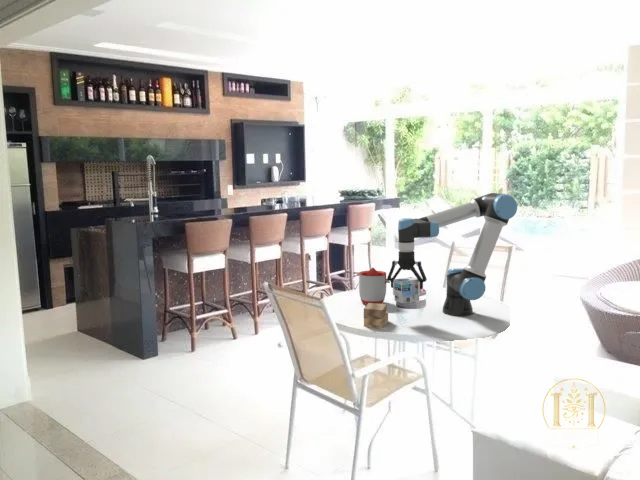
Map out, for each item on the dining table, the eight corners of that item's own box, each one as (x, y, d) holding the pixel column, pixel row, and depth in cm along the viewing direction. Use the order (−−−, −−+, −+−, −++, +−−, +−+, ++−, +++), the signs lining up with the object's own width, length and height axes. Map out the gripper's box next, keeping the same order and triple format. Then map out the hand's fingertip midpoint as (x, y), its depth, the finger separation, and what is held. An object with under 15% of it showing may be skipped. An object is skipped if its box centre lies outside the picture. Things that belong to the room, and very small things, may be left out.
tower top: (386, 313, 287) (386, 304, 286) (382, 319, 276) (382, 310, 275) (368, 311, 289) (368, 302, 289) (363, 318, 278) (363, 308, 277)
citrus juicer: (389, 307, 315) (389, 270, 313) (357, 305, 318) (357, 269, 316) (390, 300, 331) (390, 265, 328) (359, 299, 333) (359, 264, 331)
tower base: (388, 322, 287) (388, 313, 287) (382, 328, 276) (382, 319, 276) (370, 320, 291) (370, 311, 290) (363, 326, 279) (363, 317, 279)
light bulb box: (402, 303, 279) (401, 281, 278) (393, 300, 285) (393, 279, 283) (420, 300, 284) (419, 278, 282) (411, 297, 290) (411, 276, 288)
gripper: (432, 250, 281) (432, 294, 284) (383, 248, 288) (384, 292, 291) (430, 252, 274) (430, 298, 277) (380, 251, 281) (381, 295, 284)
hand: (406, 295), depth 284 cm, fingers closed on light bulb box, 11 cm apart
